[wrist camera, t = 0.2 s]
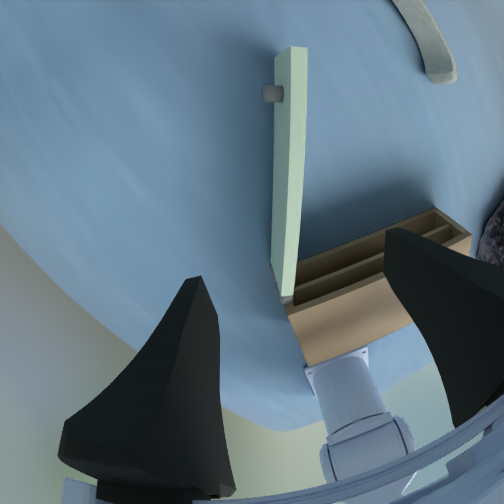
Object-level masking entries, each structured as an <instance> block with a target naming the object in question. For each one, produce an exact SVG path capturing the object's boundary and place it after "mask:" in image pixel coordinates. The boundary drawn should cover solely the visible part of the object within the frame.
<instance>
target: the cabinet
mask: <svg viewBox="0 0 504 504" xmlns="http://www.w3.org/2000/svg"><path fill="white" fill-rule="evenodd" d="M396 227H400V228H403V229H406V230H408V231H411V232H413V233H416V234H418V235H420V236H423V237H425V238H427V239H429V240H432V241H434V242H436V243H438V244H440V245H443V246H445V247H447V248H449V249H452V250H454V251H457V252H459V253H461V254H464V255H466V256H469V253H470V247H471V239H472V234H471V233H469V232H468V231H467V230H466V229H464V228H463V227H462V226H461V225H459V224H458V223H457V222H455V221H454V220H453V219H451V218H450V217H449V216H447V215H446V214H445V213H443V212H442V211H440V210H439V209H438V208H436V207H435V208H432V209H430V210H427V211H425V212H423V213H420V214H418V215H415V216H413V217H411V218H408V219H406V220H403V221H401V222H398V223H396V224H393V225H391V226H389V227H386V228H384V229H381V230H379V231H376V232H374V233H371V234H369V235H366V236H363V237H361V238H358V239H356V240H353V241H351V242H348V243H346V244H343V245H340V246H338V247H335V248H333V249H330V250H327V251H325V252H322V253H320V254H317V255H314V256H312V257H309V258H306V259H304V260H301V261H298V262H297V264H296V274H295V283H294V292H293V295H292V296H293V300H292V302H291V303H289V304H284V306H285V309H286V313H287V316H288V318H289V321H290V323H291V326H292V328H293V330H294V333H295V335H296V338H297V340H298V343H299V345H300V347H301V350H302V352H303V355H304V357H305V360H306V362H307V364H308V367H309V366H312V365H315V364H318V363H320V362H323V361H326V360H329V359H331V358H334V357H336V356H339V355H342V354H344V353H347V352H349V351H352V350H354V349H356V348H359V347H361V346H364V345H366V344H368V343H371V342H373V341H375V340H377V339H380V338H382V337H384V336H386V335H388V334H390V333H393V332H395V331H397V330H399V329H401V328H403V327H405V326H407V325H409V324H411V323H413V322H414V321H413V320H412V318H411V317H410V315H409V314H408V312H407V311H406V310H405V308H404V307H403V305H402V304H401V302H400V301H399V299H398V298H397V297H396V295H395V294H394V292H393V290H392V289H391V287H390V285H389V283H388V281H387V279H386V277H385V275H384V273H383V263H384V248H385V230H388V229H392V228H396Z"/></svg>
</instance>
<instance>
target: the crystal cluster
mask: <svg viewBox="0 0 504 504" xmlns="http://www.w3.org/2000/svg"><path fill="white" fill-rule="evenodd" d="M477 260H480V261H483V262H486V263H488V264H492V265H495V266H499V267H502V268H504V200H503V201H502V202H501V204H500V205H499V207H498V208H497V210H496V211H495V213H494V214H493V216H492V217H491V218H490V219H489V221H488V223H487V225H486V227H485V232H484V234H483V236H482V238H481V239H480V241H479V250H478V254H477Z"/></svg>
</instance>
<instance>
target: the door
mask: <svg viewBox="0 0 504 504" xmlns="http://www.w3.org/2000/svg"><path fill="white" fill-rule="evenodd" d="M262 100H263V102H274V158H273V202H272V235H271V264H270V268H271V272H272V275H273V279H274V281H275V282H276V289H277V293H278V296H279V300H280V303H282V304H289V303H291V302H292V300H293V296H292V295H293V292H294V283H295V274H296V264H297V254H298V243H299V232H300V220H301V207H302V194H303V178H304V161H305V141H306V115H307V48H305V47H295V46H290V47H289V48H287V49H286V50H284V51H283V52H282V53H280V54H279V55H277V56H276V57H274V85H263V88H262Z"/></svg>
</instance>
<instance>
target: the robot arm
mask: <svg viewBox="0 0 504 504" xmlns="http://www.w3.org/2000/svg"><path fill="white" fill-rule="evenodd" d="M383 273H384V275H385V277H386V279H387V281H388V283H389V285H390V287H391V289H392V290H393V292H394V294H395V295H396V297H397V298H398V299H399V301H400V302H401V304H402V305H403V307H404V308H405V310H406V311H407V312H408V314H409V315H410V317H411V318H412V320H413V321H414V323H415V324H416V326H417V327H418V329H419V330H420V332H421V334H422V335H423V337H424V339H425V341H426V343H427V345H428V347H429V349H430V351H431V354H432V356H433V358H434V361H435V363H436V365H437V368H438V371H439V373H440V376H441V379H442V382H443V385H444V388H445V391H446V394H447V399H448V403H449V406H450V411H451V416H452V421H453V425H454V427H455V429H454V430H452V431H451V432H449V433H447V434H446V435H444V436H442V437H440V438H439V439H437V440H435V441H433V442H432V443H430V444H428V445H426V446H424V447H422V448H420V449H418V450H416V446H415V442H414V439H413V436H412V433H411V431H410V429H409V426H408V425H407V423H406V421H405V420H404V418H402V417H399V416H397V415H396V416H394V417H392V416H391V413H390V412H387V411H386V408H385V406H384V403H383V401H382V399H381V396H380V394H379V392H378V389H377V387H376V385H375V382H374V380H373V378H372V376H371V373H370V371H369V366H368V348H367V346H366V345H364V346H361V347H359V348H356V349H354V350H352V351H349V352H347V353H344V354H342V355H339V356H336V357H334V358H331V359H329V360H326V361H323V362H320V363H318V364H315V365H312V366H309V367H306V368H305V369H304V371H305V374H306V376H307V378H308V380H309V383H310V385H311V387H312V389H313V392H314V394H315V396H316V398H317V399H318V401H319V405H320V408H321V412H322V415H323V419H324V422H325V426H326V429H327V433H328V437H326V439H327V442H328V443H327V444H324V445H323V446H322V448H321V450H320V462H321V466H322V470H323V473H324V477H325V479H326V482H327V484H325V485H321V486H317V487H313V488H308V489H304V490H300V491H294V492H289V493H283V494H277V495H271V496H264V497H255V498H245V499H234V500H211V499H220V498H221V497H230V496H231V495H232V494H233V493H234V492H235V491H236V487H235V483H234V479H233V474H232V470H231V466H230V461H229V456H228V450H227V445H226V439H225V433H224V426H223V420H222V412H221V403H220V333H219V324H218V315H217V313H216V310H215V308H214V305H213V303H212V301H211V298H210V296H209V293H208V291H207V289H206V286H205V284H204V281H203V279H202V276H198V277H193V278H189V279H186V280H185V281H184V283H183V285H182V286H181V288H180V290H179V291H178V293H177V295H176V296H175V298H174V300H173V301H172V303H171V305H170V307H169V308H168V310H167V312H166V313H165V315H164V316H163V318H162V320H161V321H160V323H159V324H158V326H157V327H156V329H155V330H154V332H153V333H152V335H151V336H150V338H149V339H148V341H147V342H146V343H145V345H144V346H143V347H142V349H141V350H140V351H139V352H138V354H137V355H136V356H135V358H134V359H133V360H132V361H131V362H130V363H129V365H128V366H127V367H126V368H125V369H124V370H123V371H122V372H121V373H120V374H119V375H118V377H116V379H115V380H114V381H113V382H112V383H111V384H110V385H109V386H108V387H107V388H105V389H104V390H103V391H102V392H101V393H100V394H99V395H98V396H97V397H96V398H94V399H93V400H92V401H91V402H90V403H88V404H87V405H86V406H85V407H83V408H82V409H81V410H79V411H78V412H77V413H75V414H74V415H73V416H71V417H70V418H69V419H67V420H66V421H65V422H64V427H63V431H62V436H61V440H60V445H59V451H58V457H59V459H60V460H61V461H62V462H63V463H65V464H66V465H68V466H70V467H72V468H74V469H76V470H78V471H80V472H82V473H84V474H86V475H89V476H91V477H93V478H95V479H98V481H97V486H95V485H92V484H88V483H84V482H81V481H77V480H74V479H70V478H67V477H65V478H64V482H63V490H62V501H61V504H332V503H335V502H339V503H342V504H504V268H502V267H499V266H495V265H492V264H488V263H486V262H483V261H480V260H477V259H474V258H471V257H469V256H466V255H464V254H461V253H459V252H457V251H454V250H452V249H449V248H447V247H445V246H443V245H440V244H438V243H436V242H434V241H432V240H429V239H427V238H425V237H423V236H420V235H418V234H416V233H413V232H411V231H408V230H406V229H403V228H400V227H396V228H392V229H388V230H385V248H384V263H383ZM483 430H484V433H483V438H482V439H481V440H480V441H479V442H477V443H476V444H475V445H473V446H472V447H470V448H469V449H467V450H466V451H464V452H463V453H461V454H460V455H458V456H457V457H455V458H453V459H452V460H450V461H449V462H447V463H446V467H447V470H448V472H449V473H448V474H447V475H445V476H443V477H442V478H440V479H438V480H436V481H435V482H432V483H431V484H429V485H427V486H425V487H423V488H421V489H419V490H417V491H415V492H412V493H411V494H408V495H406V496H404V497H403V494H402V493H403V491H404V490H405V489H406V487H407V486H408V485H409V483H410V482H411V480H412V479H413V478H414V476H415V475H416V473H417V472H418V470H420V469H422V468H424V467H426V466H428V465H430V464H432V463H433V462H435V461H437V460H439V459H441V458H442V457H444V456H446V455H447V454H449V453H451V452H452V451H454V450H456V449H457V448H459V447H460V446H462V445H463V444H465V443H466V442H468V441H469V440H471V439H472V438H474V437H475V436H476V435H478V434H479V433H481V432H482V431H483Z"/></svg>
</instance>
